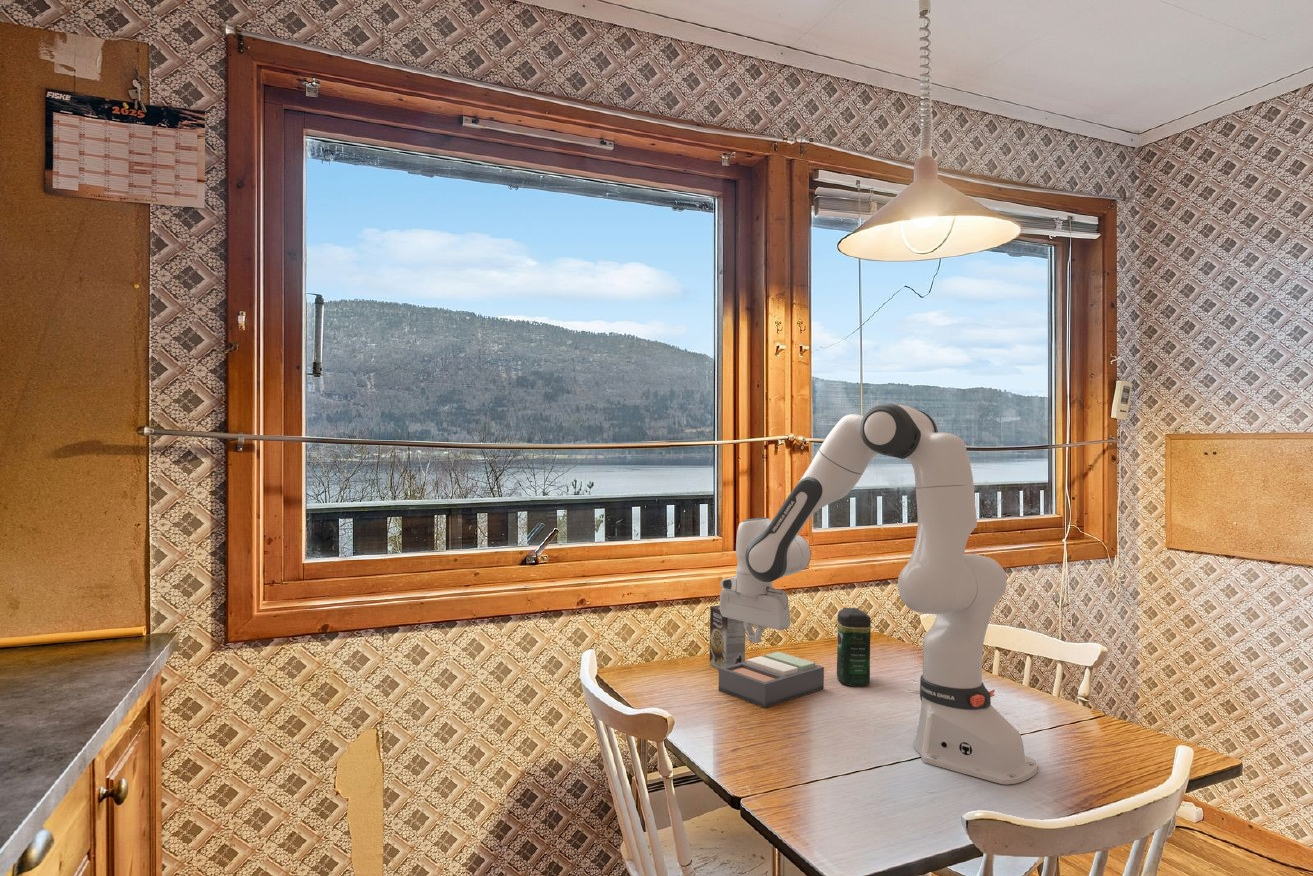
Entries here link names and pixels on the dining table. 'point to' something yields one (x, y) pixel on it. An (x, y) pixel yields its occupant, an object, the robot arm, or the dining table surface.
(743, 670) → the orange rectangular block
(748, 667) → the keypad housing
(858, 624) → the coffee jar
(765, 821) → the dining table surface
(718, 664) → the coffee box
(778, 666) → the cream key
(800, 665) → the sage key
